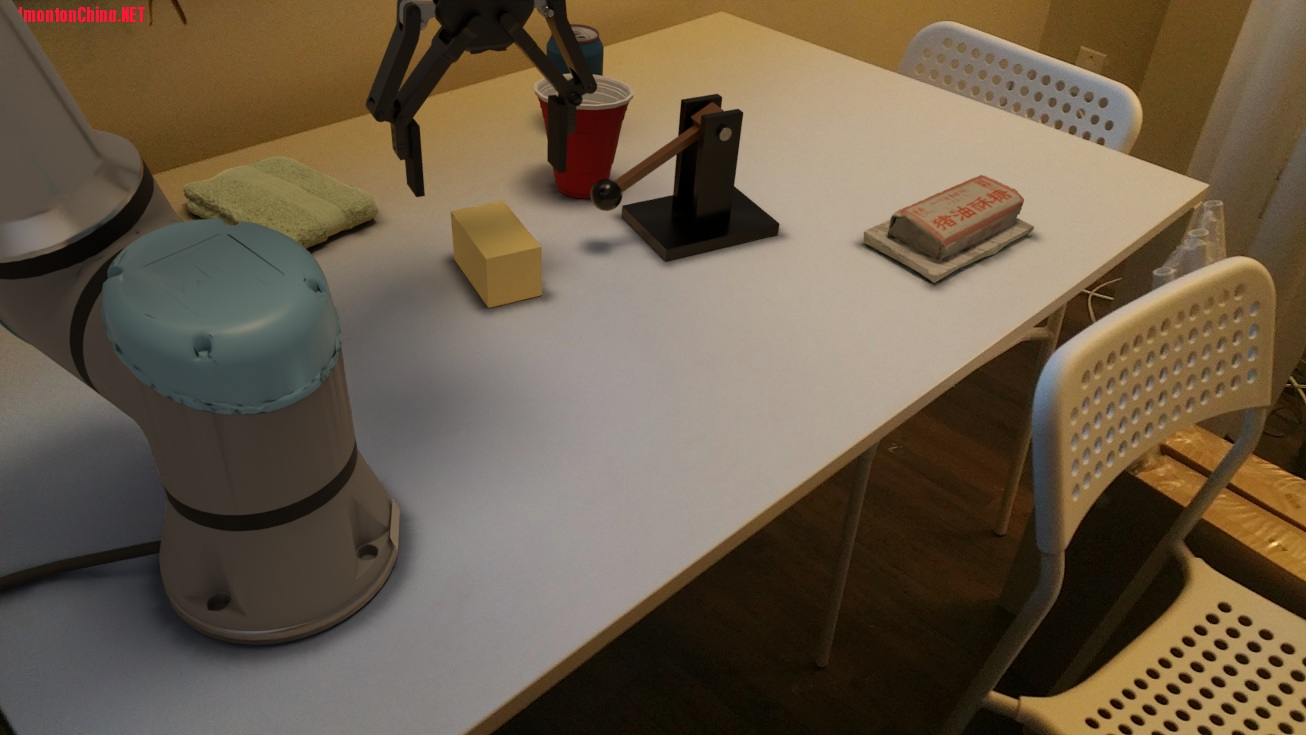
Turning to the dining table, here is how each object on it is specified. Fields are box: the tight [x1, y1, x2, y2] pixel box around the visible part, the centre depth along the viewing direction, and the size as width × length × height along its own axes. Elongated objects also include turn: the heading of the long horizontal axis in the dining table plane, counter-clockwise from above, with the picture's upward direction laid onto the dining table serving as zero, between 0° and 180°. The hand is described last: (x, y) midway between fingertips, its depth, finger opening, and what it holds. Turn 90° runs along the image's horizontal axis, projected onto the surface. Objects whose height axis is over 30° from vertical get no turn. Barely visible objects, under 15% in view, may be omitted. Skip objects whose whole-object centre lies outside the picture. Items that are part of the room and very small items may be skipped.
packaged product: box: [863, 174, 1035, 284], centre depth 107 cm, size 18×5×10 cm
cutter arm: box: [590, 102, 725, 212], centre depth 99 cm, size 16×3×3 cm, turn 119°
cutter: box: [621, 93, 781, 262], centre depth 103 cm, size 14×10×14 cm
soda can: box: [546, 23, 605, 76], centre depth 122 cm, size 7×7×12 cm
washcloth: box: [182, 155, 379, 250], centre depth 103 cm, size 13×18×3 cm
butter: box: [450, 200, 543, 309], centre depth 95 cm, size 6×10×6 cm, turn 29°
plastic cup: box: [533, 74, 635, 199], centre depth 109 cm, size 11×11×12 cm
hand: (488, 178), depth 90 cm, fingers open, 13 cm apart
